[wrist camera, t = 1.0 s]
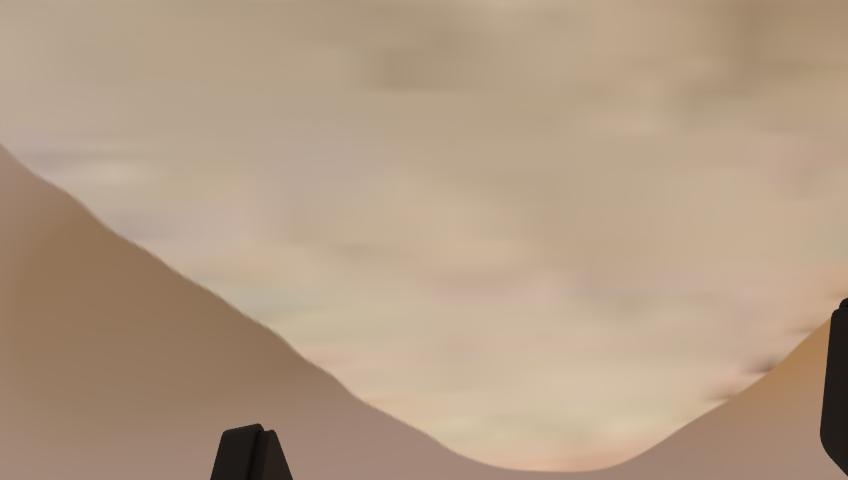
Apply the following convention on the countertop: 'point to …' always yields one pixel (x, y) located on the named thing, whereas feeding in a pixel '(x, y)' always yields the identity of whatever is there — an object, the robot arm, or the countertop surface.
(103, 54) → the countertop surface
